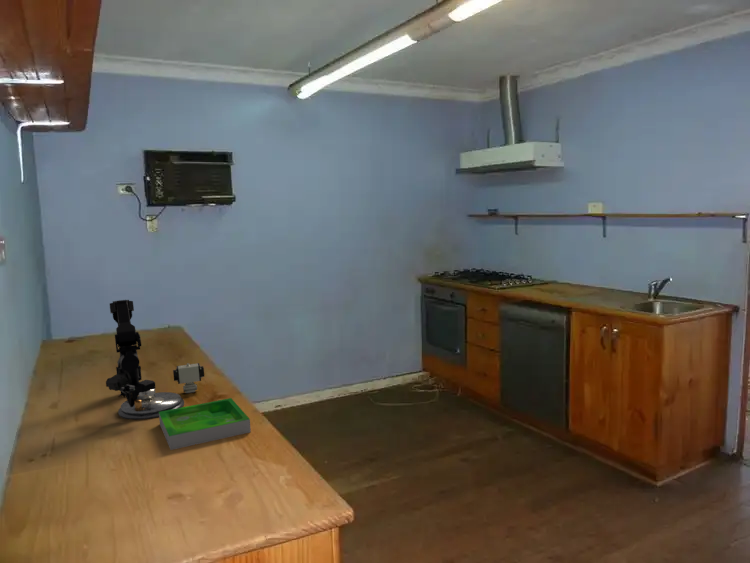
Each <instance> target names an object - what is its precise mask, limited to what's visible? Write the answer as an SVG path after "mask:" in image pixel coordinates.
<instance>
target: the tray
mask: <svg viewBox="0 0 750 563" xmlns="http://www.w3.org/2000/svg"><path fill="white" fill-rule="evenodd" d="M158 418H159V419H158V420H159V426H160V428H161V431H162V432H163V435H164V437H165V441H166V442H167V445H168V447H169V449H170V451H172V450H176V449H177V450H178V449H181V448H186V447H190V446H195V444H196V445H199V444H204V443H208V442H213V441H217V440H222V439H226V438H231V437H235V436H239V435H240V436H241V435H244V434H248V433H251V432H252V430H251V429H252V428H251V419H250V418H249V417H248V415H247V413H245V412H244V411H243V409H241V407H240V406H239V405H238V404H237V403H236V402H235V400H234V399H233V398H231V397H229V398H224V399H218V400H214V401H209V402H208V401H207V402H202V403H199V404H192V405H188V406H187V405H186V406H183V407H182V408H176V409H171V410H166V411H161V412H159V417H158Z"/></svg>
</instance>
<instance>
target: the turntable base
mask: <svg viewBox="0 0 750 563" xmlns="http://www.w3.org/2000/svg"><path fill="white" fill-rule="evenodd" d="M184 405H185V400H184V398H182V397H181V403H180V404H179V405H177V406H176V407H174V408H172V409H176V408H182V407H185V406H184ZM169 410H171V409H169ZM117 412H118V416H119V417H120V418H122V419H124V420H132V421H133V420H136V421H137V420H139V421H140V420H147V419H149V420H150V419H155V418H159V413H154V414H147V415H128V414H125V413H123V412H122V411H121V407H120V408H119V409H118V411H117Z"/></svg>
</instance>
